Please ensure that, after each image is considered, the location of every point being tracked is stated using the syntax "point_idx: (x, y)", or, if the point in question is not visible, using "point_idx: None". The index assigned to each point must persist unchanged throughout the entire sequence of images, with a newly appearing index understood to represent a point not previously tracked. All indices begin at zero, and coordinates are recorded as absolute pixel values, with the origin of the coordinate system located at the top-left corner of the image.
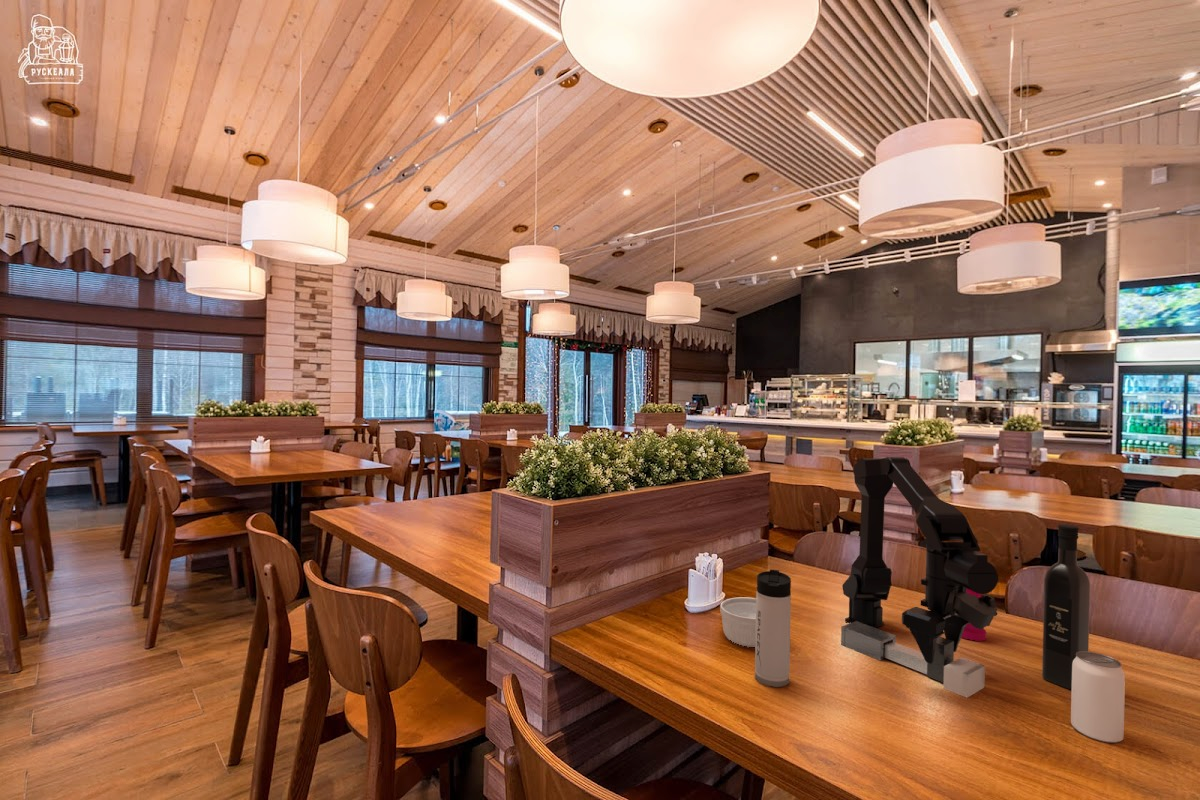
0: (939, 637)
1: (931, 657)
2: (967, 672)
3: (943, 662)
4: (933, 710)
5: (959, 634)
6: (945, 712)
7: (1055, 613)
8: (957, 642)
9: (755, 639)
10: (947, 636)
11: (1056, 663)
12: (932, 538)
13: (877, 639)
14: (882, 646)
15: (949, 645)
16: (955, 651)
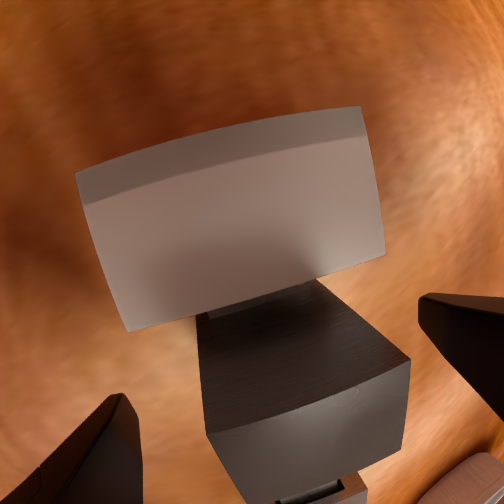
0: (270, 489)
1: (467, 296)
2: (326, 128)
3: (337, 301)
4: (468, 135)
5: (71, 482)
6: (451, 109)
7: None
8: (99, 433)
9: (492, 457)
10: (134, 494)
11: None
12: None
13: (363, 497)
14: (347, 478)
15: (301, 388)
16: (115, 394)
